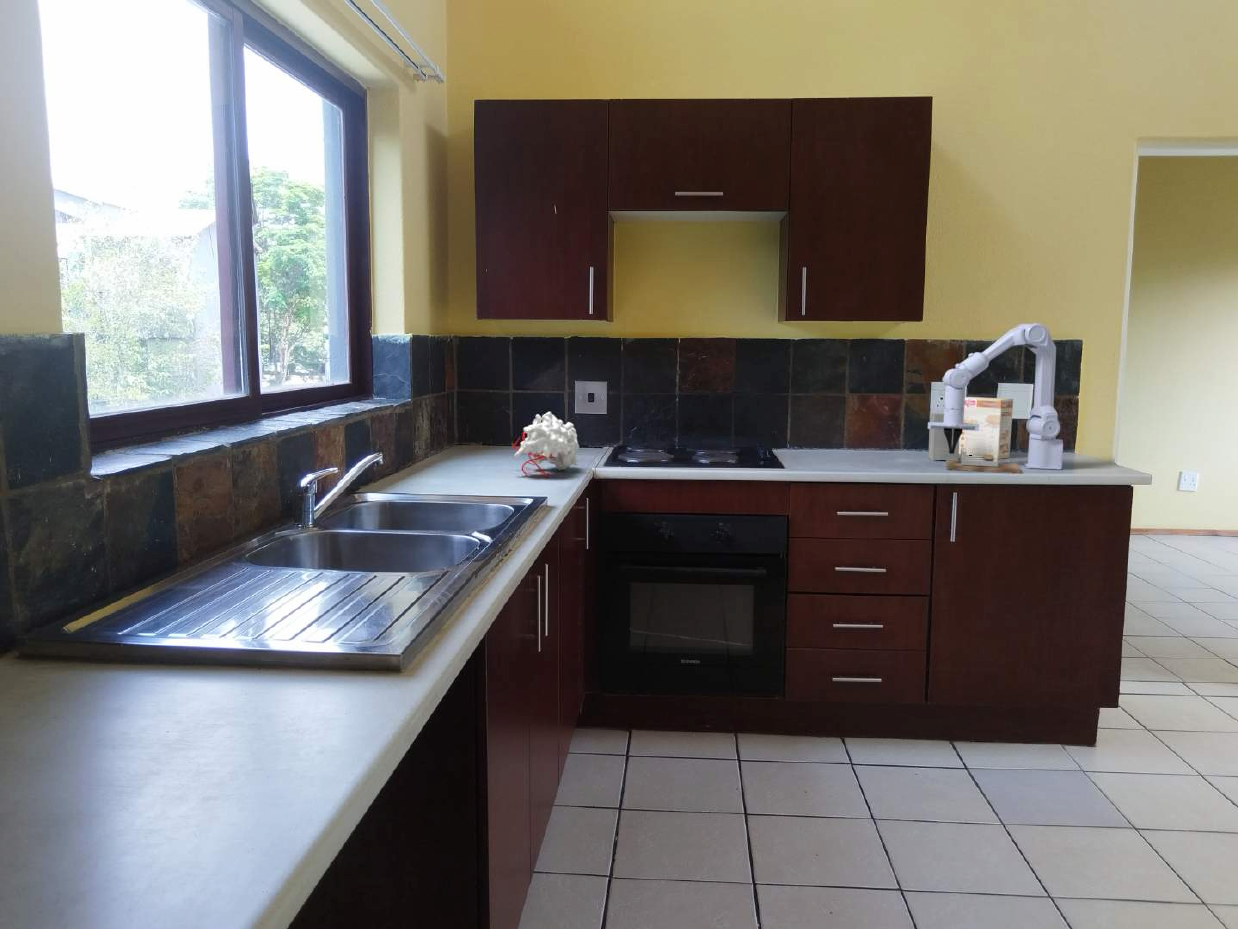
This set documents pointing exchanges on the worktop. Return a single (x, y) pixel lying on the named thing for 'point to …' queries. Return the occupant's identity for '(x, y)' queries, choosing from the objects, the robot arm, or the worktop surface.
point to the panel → (976, 460)
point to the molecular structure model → (549, 443)
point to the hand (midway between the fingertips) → (951, 453)
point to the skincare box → (940, 440)
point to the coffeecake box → (987, 427)
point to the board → (1001, 466)
